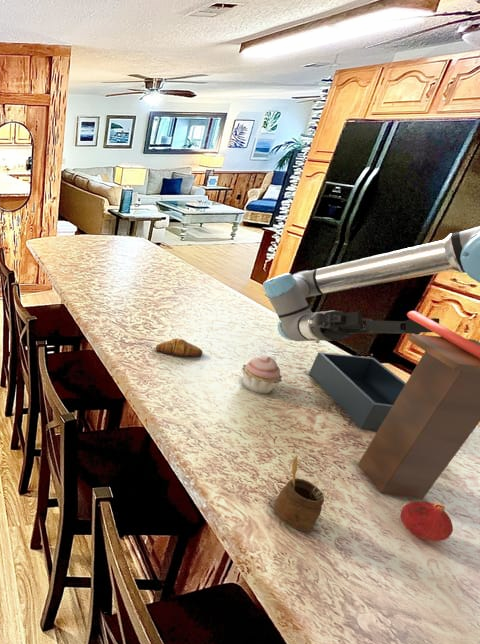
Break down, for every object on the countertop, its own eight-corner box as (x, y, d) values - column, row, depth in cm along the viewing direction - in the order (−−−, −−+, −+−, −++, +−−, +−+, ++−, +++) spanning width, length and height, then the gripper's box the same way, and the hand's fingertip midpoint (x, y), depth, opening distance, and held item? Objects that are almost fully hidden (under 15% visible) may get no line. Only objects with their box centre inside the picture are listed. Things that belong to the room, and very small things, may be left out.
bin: (308, 374, 110) (318, 352, 106) (361, 380, 108) (373, 357, 104) (359, 429, 90) (374, 404, 86) (426, 438, 88) (444, 412, 84)
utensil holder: (304, 539, 65) (333, 490, 60) (264, 512, 70) (287, 464, 65) (317, 521, 69) (345, 473, 63) (278, 495, 73) (301, 449, 68)
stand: (341, 455, 83) (409, 333, 69) (394, 462, 81) (474, 339, 68) (372, 495, 74) (458, 363, 60) (433, 504, 72) (534, 371, 59)
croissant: (197, 350, 120) (201, 336, 118) (204, 362, 114) (208, 347, 112) (152, 345, 122) (156, 331, 120) (157, 357, 116) (160, 342, 114)
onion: (403, 544, 65) (427, 513, 61) (385, 515, 70) (406, 484, 66) (447, 556, 63) (474, 524, 60) (425, 525, 68) (449, 494, 65)
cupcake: (230, 385, 104) (241, 354, 100) (244, 373, 110) (255, 343, 105) (269, 403, 98) (282, 370, 93) (281, 389, 103) (295, 357, 99)
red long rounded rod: (403, 316, 76) (407, 309, 75) (412, 317, 76) (416, 309, 75) (489, 367, 60) (496, 358, 59) (502, 368, 60) (508, 359, 59)
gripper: (380, 346, 97) (469, 347, 76) (271, 335, 100) (328, 333, 79) (381, 316, 97) (470, 309, 76) (273, 306, 101) (330, 297, 80)
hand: (398, 321), depth 78 cm, fingers open, 13 cm apart
